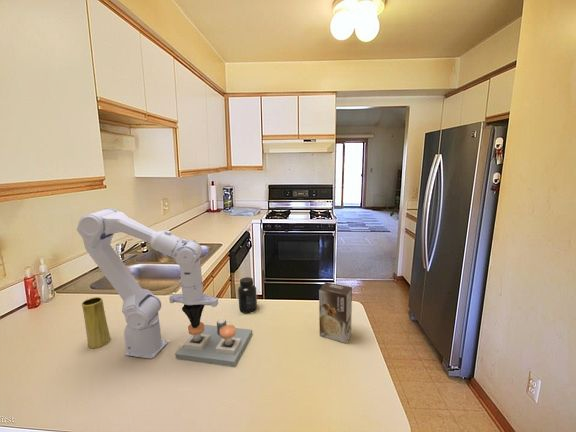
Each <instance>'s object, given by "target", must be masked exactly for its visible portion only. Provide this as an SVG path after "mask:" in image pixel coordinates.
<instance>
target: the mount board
mask: <svg viewBox="0 0 576 432" xmlns="http://www.w3.org/2000/svg"><path fill="white" fill-rule="evenodd" d="M235 328H236V334H235V336H233V337H232V344H231V345H225V341H224V339H223V338H221V337H220V335H218V333H217V325H211V324H204V331H203V332H202V333H201V340H200V341H197V342H195V341H194V340H193V335H191V334H190V337H188V339H187V340H186V341H185V342H184V343H183V345H182V346H181V347H179V348H178V350H177V352H176V353H175V354H174V355H175V359H176V360H180V361H181V360H183V361H189V362H198V363H204V364H212V365H217V366H225V367H226V366H227V367H233V368H234V367H236V366H237V363H239V360H240V358H241V356H242V355H243V352H244V350H245V349H246V347H247V345H248V343H249V341H250V339H251V338H252V335H253V329H250V328H249V329H248V328H240V327H239V328H238V327H235Z"/></svg>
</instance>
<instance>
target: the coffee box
mask: <svg viewBox="0 0 576 432" xmlns="http://www.w3.org/2000/svg"><path fill="white" fill-rule="evenodd" d="M318 295H319V296H318V299H319V300H318V304H319V305H318V309H319V310H318V311H319V313H318V314H319V318H318V320H319V337H322V338H324V339H325V338H326V339H329V340H333V341H336V342H340V343H342V344H343V343H344V344H348V341H349V340H350V338H351V335H352V310H353V309H352V307H353V305H352V303H353V301H352V300H353V299H352V298H353V287H351V286H347V285H342V284H337V283H336V284H335V283H332V282H324V283H323V285H322V286H321V287H320V289H318Z"/></svg>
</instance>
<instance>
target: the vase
mask: <svg viewBox="0 0 576 432" xmlns="http://www.w3.org/2000/svg"><path fill="white" fill-rule="evenodd" d="M81 306H82V311H83V318H84V325H85V332H86V338H87V339H86V340H87V348H90V349H98V348H102V347H104V346H105V345H107V344H108V343H109V342H110V341H111V336H110V332H109V327H108V323H107V316H106V311H105V307H104V301H103V297H99V296H95V297H90V298H87V299H85V300H84V301H82V303H81Z"/></svg>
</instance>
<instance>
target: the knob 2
mask: <svg viewBox="0 0 576 432" xmlns="http://www.w3.org/2000/svg"><path fill="white" fill-rule="evenodd" d="M236 328H237V327H235V326H234V325H233V324H227V325H226V326H223V327H221V328H220V330H219V332H220V337H221V338H223V339H224V341H225V345H231V344H232V337H233V336H235V334H236Z"/></svg>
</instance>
